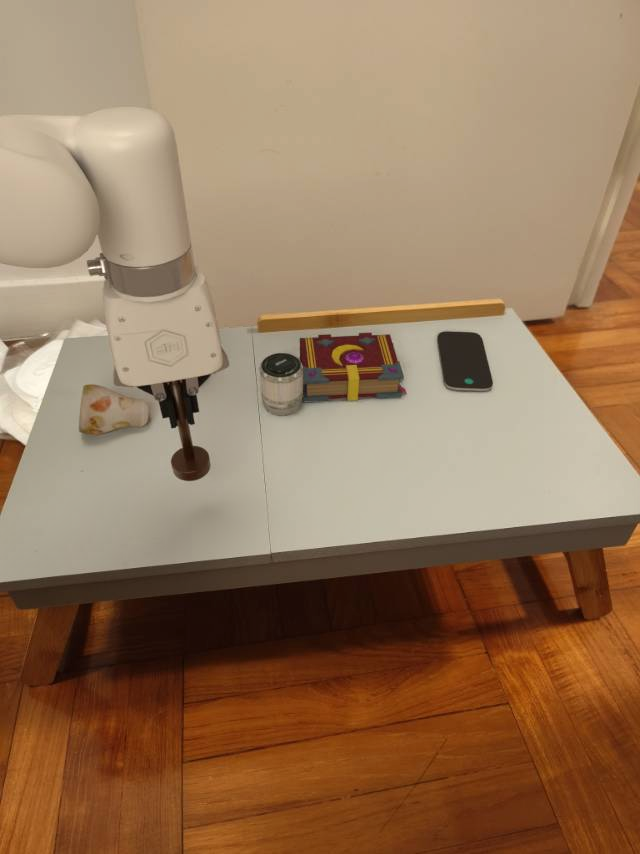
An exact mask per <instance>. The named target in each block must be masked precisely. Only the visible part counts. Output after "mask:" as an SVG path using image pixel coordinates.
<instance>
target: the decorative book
mask: <svg viewBox="0 0 640 854" xmlns="http://www.w3.org/2000/svg"><path fill="white" fill-rule="evenodd" d="M299 360H300V361H301V363H302V365H303V399H302V402H303V403H307V402H327V401H329V400H337V399H338V400H339V399H346V401H347V402H352V401H359V398H376V399H390V398H402V393H404V394H405V395H407V394H408V393H407V389H406V388H404V387H403V386H401V385H400V383H402V381H404V377H405V375H404V372H403V368H402V366H401V362H400V360H398V357H397V353H396V350H395V347H394V343H393V339H392V335H391V334H388V333H387V334H373V333H372V332H359V333H358V335H343V336H332V334H331V333H330V334H329V333H328V334H327V333H326V334H318V335H317V337H316V336H315V337H299ZM399 382H400V383H399Z"/></svg>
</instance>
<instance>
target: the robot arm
mask: <svg viewBox="0 0 640 854" xmlns="http://www.w3.org/2000/svg"><path fill="white" fill-rule="evenodd" d="M96 238H98V243H99V247H100V249H101V252H100V253H99V256H97V257H95V258H93V259H87V260H86V266H87V270H88V274H89V276H90V277H93V276H99V277H104V282H103V287H102V305H103V315H104V321H105V322H104V323H105V327H106V331H107V337H108V342H109V346H110V351H111V355H112V359H113V360H112V361H113V364H114V365H113V371H112V378H113V379H112V380H113V385H115V386H116V387H124V388H126V387H127V388H134V387H136V388H137V389H139V390H141V391H142V392H145V393H147V394H149V395H151V396H153V398H154V400H155V401H157V402H158V405H159V409H160V413H161V417H162V419H169V423H170V428H171V429H176V428H177V427H178V424H177V418H176V414H175V409H174V404H173V399H172V394H171V392H170V387H169V385H168V383H167V382H169V381H175V380H181V379H182V382H181V387H182V395H183V400H184V405H185V410H186V415H187V421H188V424H189V426H193V425H196V422H195V415H194V414H196V413H200V408H199V401H198V397H197V395H198V394H199V391H200V390H199V389H200V388H201V387H202V386H203V385H204V383H205V382H206V381H207V380H208V379H209V378H210V377H211V375H212V374H216V373H219V372H221V371H224V370H225V369H227V368H229V367H230V361H229V358H228V355H227V353H226V352H225V351H226V350H225V349H224V348H223V346H222V344H221V343H222V342H221V336H220V331H219V325H218V319H217V315H216V310H215V306H214V301H213V296H212V295H211V290H210V287H209V285H208V282H207V279H206V277H205V275H204V273H203V271H202V269H201V268H200V267H199V266H198V265H196V264H195V260H194V253H193V246H192V239H191V233H190V226H189V219H188V213H187V207H186V199H185V193H184V186H183V178H182V172H181V166H180V159H179V152H178V145H177V139H176V134H175V131H174V129H173V126H172V124H171V122H170V121H169V120H168V119H167V117H166V116H165V115H163V114H161V113H160V112H159V111H157V110H154V109H150V108H147V107H142V106H127V105H126V106H113V107H107V108H103V109H99V110H96V111H93V112H90V113H88V114H82V115H81V114H80V115H76V114H75V115H64V114H63V115H62V114H61V115H59V114H58V115H56V114H55V115H53V114H52V115H51V114H31V113H30V114H27V113H25V114H23V113H22V114H20V113H19V114H18V113H17V114H5V115H0V264H1V265H2V264H3V265H7V266H13V267H20V268H27V269H28V268H29V269H50V268H57V267H61V266H65V265H68V264H71V263H73V262H75V261H76V260H78V259H80V258H81V257H82V256H83V255H84V254H86V253H87V252H88V251H89V250H90V248H91V247H92V246H93V244H94V243H95V241H96Z"/></svg>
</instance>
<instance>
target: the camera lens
mask: <svg viewBox="0 0 640 854" xmlns="http://www.w3.org/2000/svg"><path fill="white" fill-rule="evenodd" d="M258 370H259V380H260V391H261V392H260V395H261V400H262V404H263V405H264V408H265V410H266V411H268V412H269V413H271V414H273V415H276V416H288V415H292V414H294V413H295V412H298V411H299V409H300V408H301V406H302V402H303V365H302V363H301V361H300V358H298V357H297V356H296V355H293V354H290V353H286V352H277V353H272V354H269V355H268V356H266V357H265V358H263V360H262V361H261V362H260V365H259V368H258Z"/></svg>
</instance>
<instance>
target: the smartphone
mask: <svg viewBox="0 0 640 854" xmlns="http://www.w3.org/2000/svg"><path fill="white" fill-rule="evenodd" d="M436 341H437V348H438V356H439V360H440V361H439V362H440V369H441V374H442V379H443V380H442V381H443V384H444V386H445V387H446V388H447V389H449V390H453V391H462V392H464V391H465V392H487V391H490V390H491V389H493V385H494V381H493V376H492V373H491V369H490V365H489V364H490V363H489V361H488V360H489V359H488V357H487V356H488V355H487V352H486V349H485V344H484V339H483V337H482V336H481V335H480V334H479V333H478V332H474V331H450V330H447V331H441V332H439V333H438V335H437V337H436Z"/></svg>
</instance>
